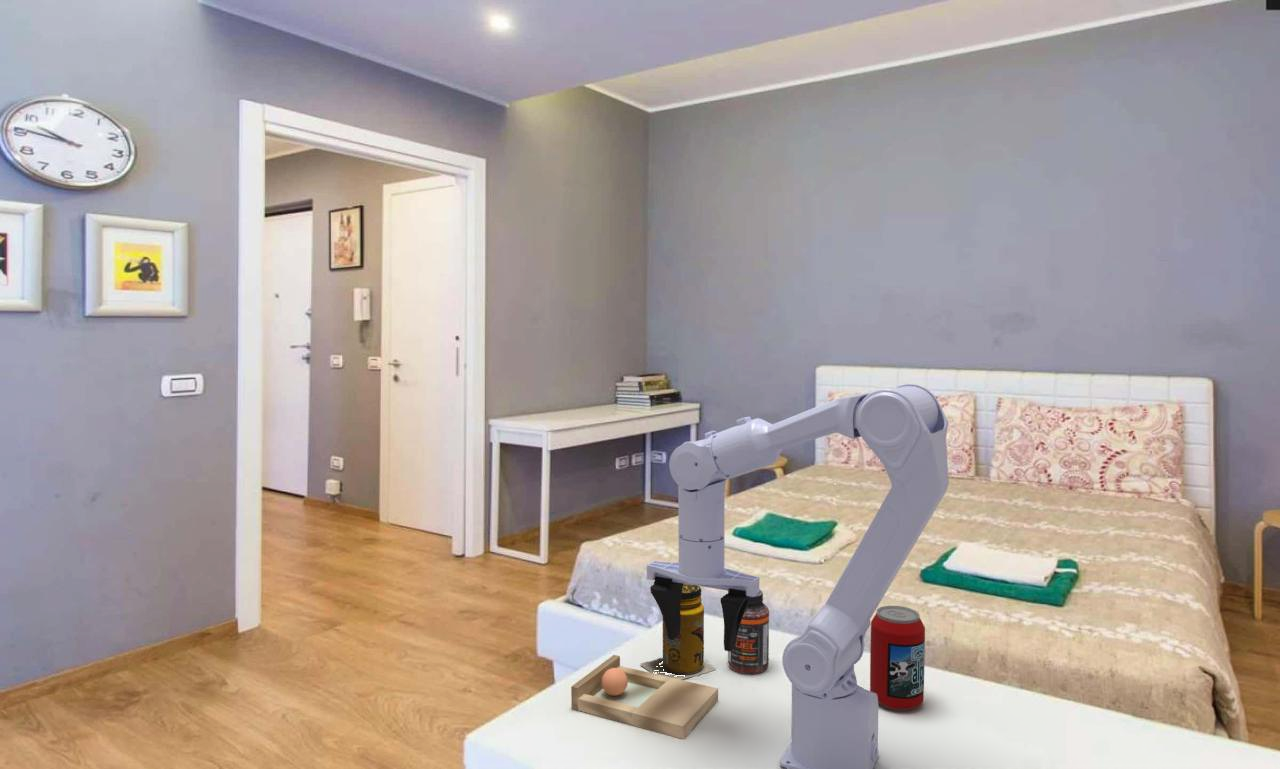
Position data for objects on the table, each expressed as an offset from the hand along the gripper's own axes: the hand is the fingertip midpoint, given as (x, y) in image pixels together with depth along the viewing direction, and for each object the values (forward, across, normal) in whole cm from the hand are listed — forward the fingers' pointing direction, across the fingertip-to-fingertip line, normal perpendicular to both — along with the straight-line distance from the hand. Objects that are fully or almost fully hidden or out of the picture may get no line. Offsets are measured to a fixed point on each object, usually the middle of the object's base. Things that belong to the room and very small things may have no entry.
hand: (701, 642), depth 96 cm
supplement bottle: (+10, 0, -17) cm, 20 cm away
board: (+10, +8, 0) cm, 13 cm away
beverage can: (+10, -21, -16) cm, 28 cm away
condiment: (+10, +9, -12) cm, 18 cm away
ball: (+8, +13, 0) cm, 15 cm away
